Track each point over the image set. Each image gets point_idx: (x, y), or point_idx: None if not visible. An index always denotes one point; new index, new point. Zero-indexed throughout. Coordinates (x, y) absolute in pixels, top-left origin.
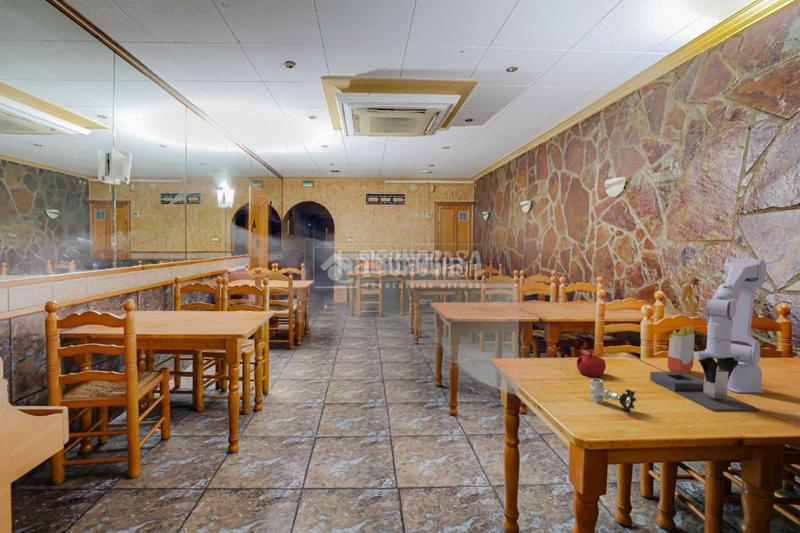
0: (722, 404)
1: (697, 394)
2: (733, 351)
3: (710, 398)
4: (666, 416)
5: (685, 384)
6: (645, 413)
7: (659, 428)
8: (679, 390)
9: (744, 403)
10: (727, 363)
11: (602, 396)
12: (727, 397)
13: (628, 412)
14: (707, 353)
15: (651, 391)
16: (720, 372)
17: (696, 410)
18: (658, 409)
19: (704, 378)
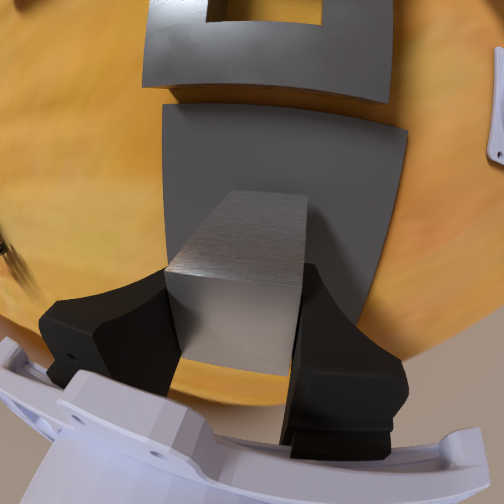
0: None
1: (237, 148)
2: (448, 498)
3: None
4: (51, 284)
5: (207, 84)
6: (24, 261)
7: (36, 315)
8: (186, 87)
9: (361, 281)
10: (283, 426)
11: None
12: (364, 211)
13: (5, 252)
14: (50, 440)
15: (84, 88)
16: (219, 361)
17: (127, 275)
18: (46, 247)
19: (202, 226)
